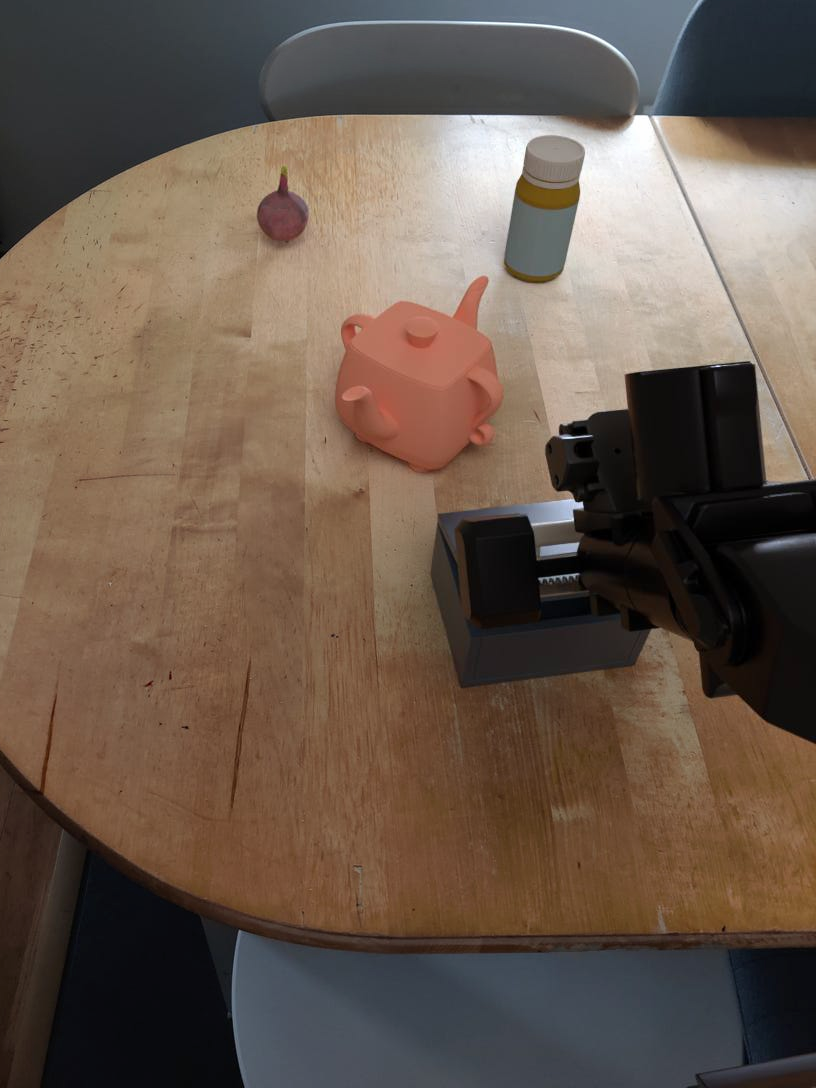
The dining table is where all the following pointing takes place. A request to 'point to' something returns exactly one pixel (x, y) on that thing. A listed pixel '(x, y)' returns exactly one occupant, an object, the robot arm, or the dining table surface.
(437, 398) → the teapot
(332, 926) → the dining table surface
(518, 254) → the bottle
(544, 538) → the lid
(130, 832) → the dining table surface
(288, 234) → the vegetable
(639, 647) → the box
